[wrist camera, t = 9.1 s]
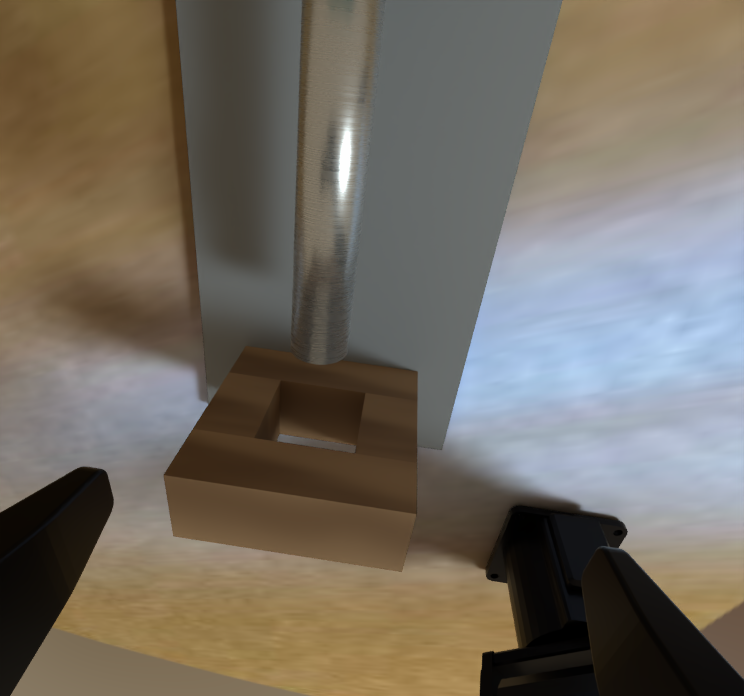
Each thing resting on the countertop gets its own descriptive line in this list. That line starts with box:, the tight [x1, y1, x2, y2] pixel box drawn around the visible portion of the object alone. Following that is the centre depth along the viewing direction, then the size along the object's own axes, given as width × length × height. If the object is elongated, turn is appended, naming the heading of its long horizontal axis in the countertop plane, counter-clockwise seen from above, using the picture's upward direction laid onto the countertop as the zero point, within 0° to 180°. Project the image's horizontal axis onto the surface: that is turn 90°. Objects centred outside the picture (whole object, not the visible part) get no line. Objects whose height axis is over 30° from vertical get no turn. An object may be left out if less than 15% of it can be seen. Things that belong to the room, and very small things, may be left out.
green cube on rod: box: [290, 0, 386, 365], centre depth 12 cm, size 17×4×7 cm, turn 173°
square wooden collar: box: [164, 346, 418, 572], centre depth 19 cm, size 3×8×8 cm, turn 83°
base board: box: [176, 0, 562, 450], centre depth 18 cm, size 24×12×1 cm, turn 173°
